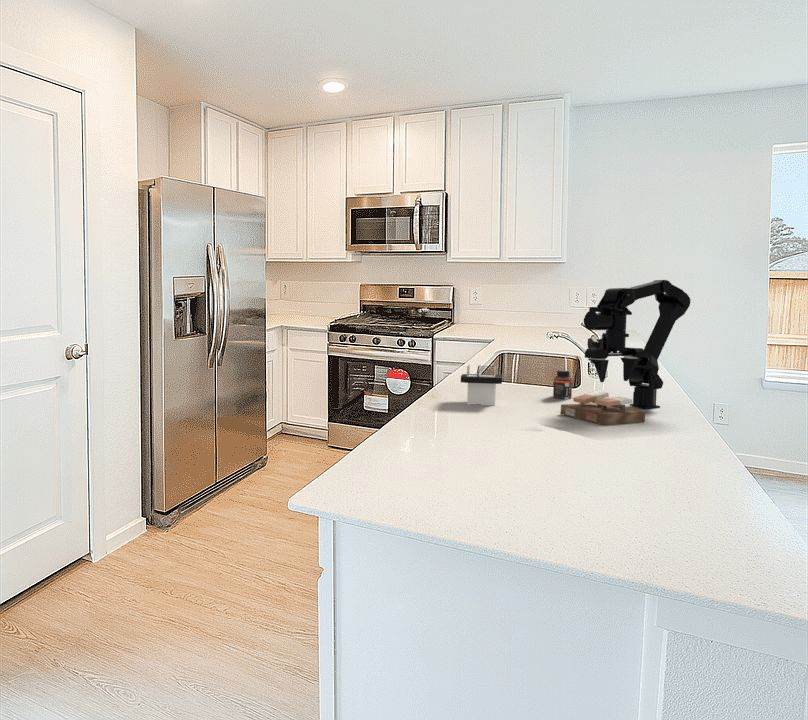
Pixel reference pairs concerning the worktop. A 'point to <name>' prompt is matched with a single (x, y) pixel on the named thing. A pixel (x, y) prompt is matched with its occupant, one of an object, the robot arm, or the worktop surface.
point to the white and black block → (481, 386)
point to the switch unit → (603, 413)
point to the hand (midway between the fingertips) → (613, 381)
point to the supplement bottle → (562, 385)
